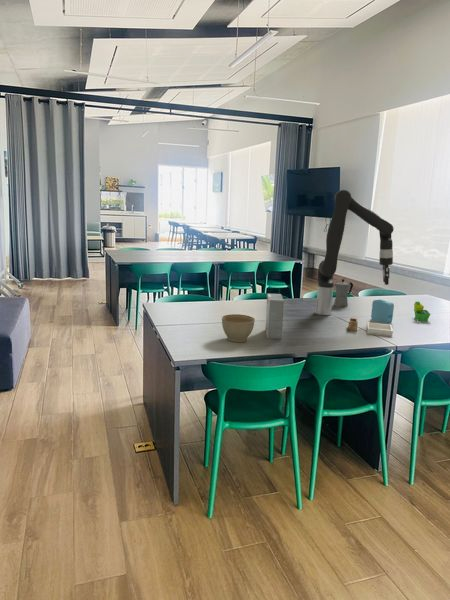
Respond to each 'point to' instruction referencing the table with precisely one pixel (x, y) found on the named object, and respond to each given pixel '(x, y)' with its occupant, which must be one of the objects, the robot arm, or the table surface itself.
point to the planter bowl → (237, 326)
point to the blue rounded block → (382, 311)
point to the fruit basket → (420, 312)
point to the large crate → (379, 329)
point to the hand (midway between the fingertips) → (385, 283)
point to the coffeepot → (342, 293)
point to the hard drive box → (274, 316)
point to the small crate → (352, 324)
